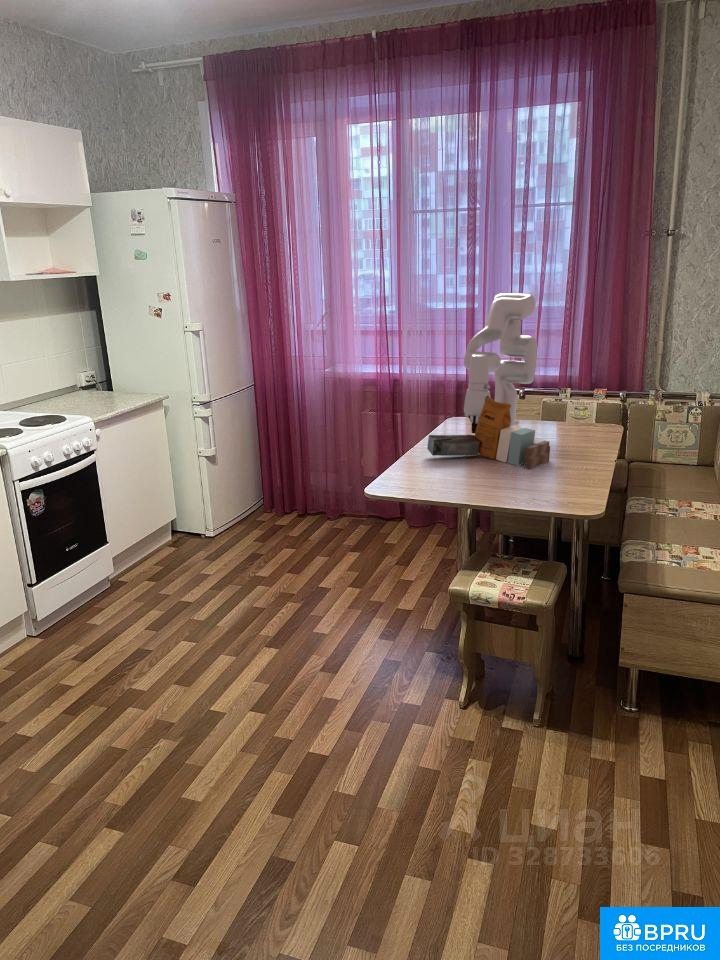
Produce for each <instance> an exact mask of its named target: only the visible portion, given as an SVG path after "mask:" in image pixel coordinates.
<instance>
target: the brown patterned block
mask: <svg viewBox="0 0 720 960" xmlns="http://www.w3.org/2000/svg"><path fill="white" fill-rule="evenodd" d="M550 455H551V445H550V441H549V440H544V441H540V442H538V443H535V442H534V445H532V446H529V447H526V450H525V463H523V465H524V467H523V469H524V468H526V469H525V470H531V468H532V469H533V467H534V468H537V467H538V466H541V465H544V464H546V463H549V462H550ZM536 466H537V467H536Z"/></svg>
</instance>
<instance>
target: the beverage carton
mask: <svg viewBox="0 0 720 960" xmlns="http://www.w3.org/2000/svg"><path fill="white" fill-rule="evenodd" d="M474 436H475V434H456V435H455V434H452V435H451V434H448V435H447V434H440V435H439V434H429V435H428V438H427V439H428V441H427V448H426V449H427V450H428V452H429V453H430V454H431V455H432V457H433V456H436V457H437V456H439V457H440V456H445V457H448V456H449V457H453V456H454V457H455V456H473V457H474V456H479V453H478V452H479V446H480V441H479V440H478V439H477V438H476V437H474Z"/></svg>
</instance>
